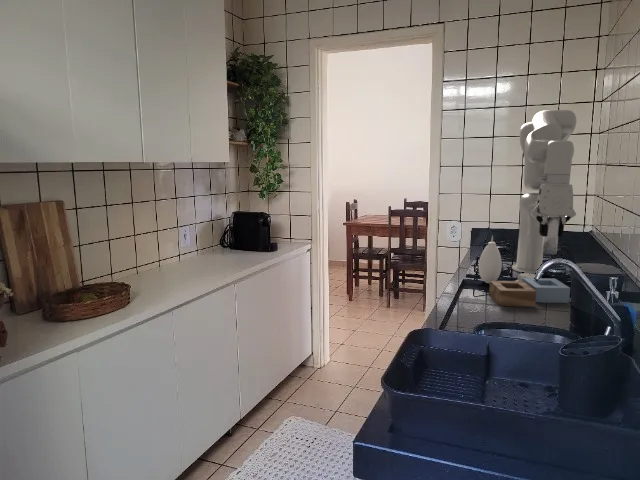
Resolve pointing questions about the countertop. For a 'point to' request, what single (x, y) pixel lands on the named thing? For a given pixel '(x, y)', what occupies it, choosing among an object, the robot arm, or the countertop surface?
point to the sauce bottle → (490, 263)
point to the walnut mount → (512, 293)
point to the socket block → (549, 290)
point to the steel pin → (551, 235)
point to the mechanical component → (525, 276)
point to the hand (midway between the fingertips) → (550, 235)
